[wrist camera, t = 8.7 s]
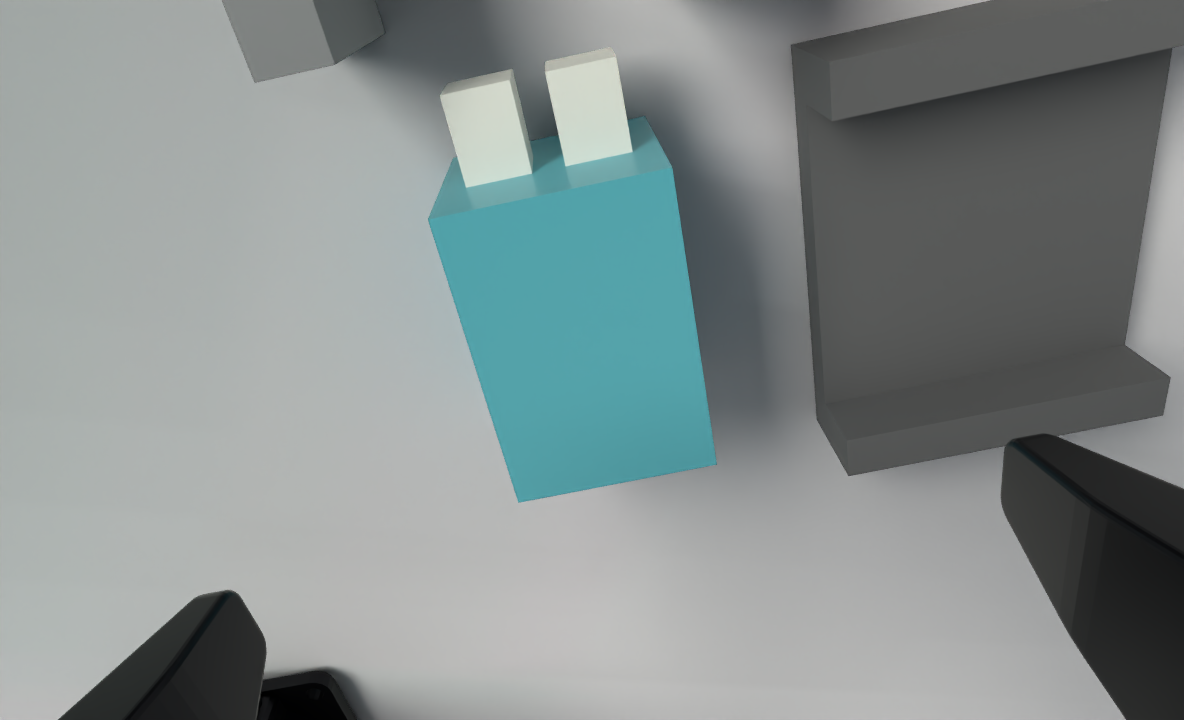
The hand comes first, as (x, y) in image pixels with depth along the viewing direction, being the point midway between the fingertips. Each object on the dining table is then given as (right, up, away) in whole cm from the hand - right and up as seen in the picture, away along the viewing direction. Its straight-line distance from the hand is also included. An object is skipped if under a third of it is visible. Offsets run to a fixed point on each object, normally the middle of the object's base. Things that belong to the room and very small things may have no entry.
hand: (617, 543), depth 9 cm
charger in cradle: (+8, +5, +8) cm, 13 cm away
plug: (-1, +4, +8) cm, 9 cm away
